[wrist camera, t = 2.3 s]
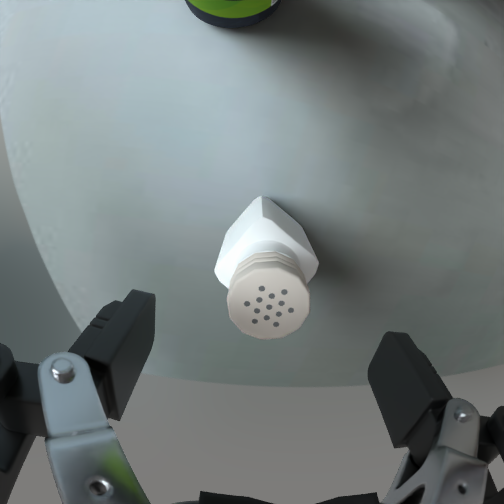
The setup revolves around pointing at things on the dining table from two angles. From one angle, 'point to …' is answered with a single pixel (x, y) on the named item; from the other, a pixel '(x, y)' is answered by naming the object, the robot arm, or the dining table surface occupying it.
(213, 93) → the dining table surface
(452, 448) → the robot arm
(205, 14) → the beverage can
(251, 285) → the salt shaker
